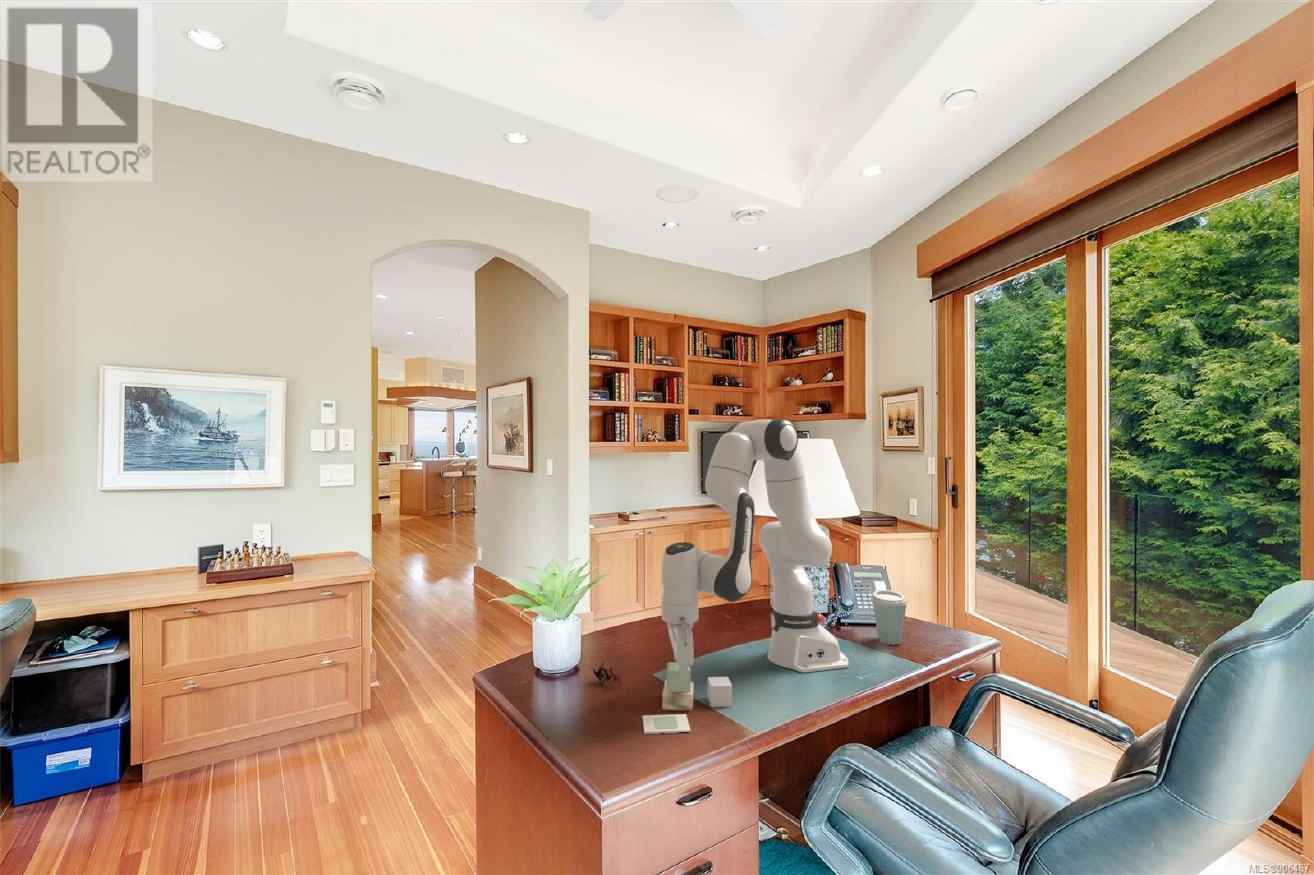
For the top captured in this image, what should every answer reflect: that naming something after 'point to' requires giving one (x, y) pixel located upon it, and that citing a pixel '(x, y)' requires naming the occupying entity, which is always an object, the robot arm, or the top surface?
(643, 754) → the top surface
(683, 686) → the sage cube
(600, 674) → the creature
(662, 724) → the tile
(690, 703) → the birch block
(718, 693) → the grey cube
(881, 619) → the disposable coffee cup
